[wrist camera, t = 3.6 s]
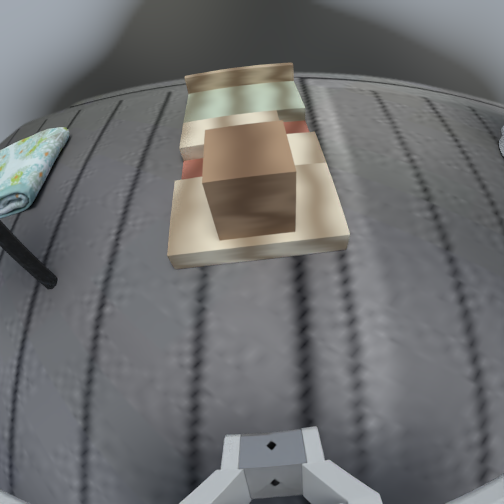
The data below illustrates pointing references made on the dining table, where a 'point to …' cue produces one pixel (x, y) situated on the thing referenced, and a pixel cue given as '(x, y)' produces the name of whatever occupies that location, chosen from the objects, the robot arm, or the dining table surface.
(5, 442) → the dining table surface
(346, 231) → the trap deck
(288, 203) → the walnut block
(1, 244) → the solar garden light
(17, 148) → the towel
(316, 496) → the robot arm
